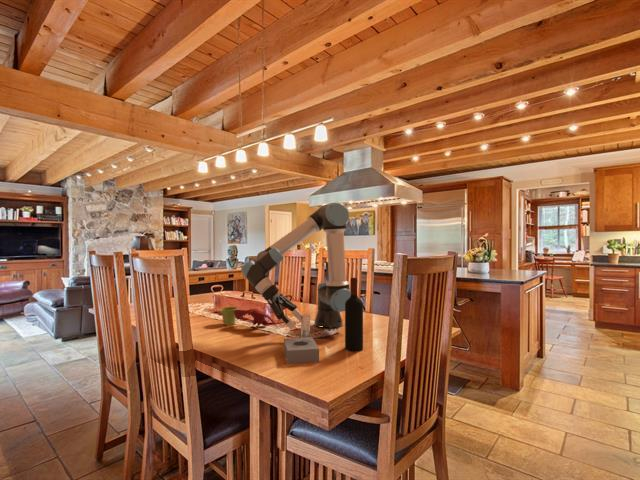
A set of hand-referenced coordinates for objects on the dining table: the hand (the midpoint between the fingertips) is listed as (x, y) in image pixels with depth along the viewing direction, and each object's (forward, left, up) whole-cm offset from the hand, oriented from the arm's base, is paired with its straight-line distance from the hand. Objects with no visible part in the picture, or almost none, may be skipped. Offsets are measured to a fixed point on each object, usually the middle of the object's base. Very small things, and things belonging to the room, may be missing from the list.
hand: (298, 324), depth 155 cm
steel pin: (-3, +1, -8) cm, 9 cm away
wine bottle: (-22, +13, -8) cm, 27 cm away
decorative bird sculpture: (+18, -29, -9) cm, 35 cm away
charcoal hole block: (+1, +18, -8) cm, 20 cm away
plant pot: (+33, -41, -8) cm, 54 cm away
